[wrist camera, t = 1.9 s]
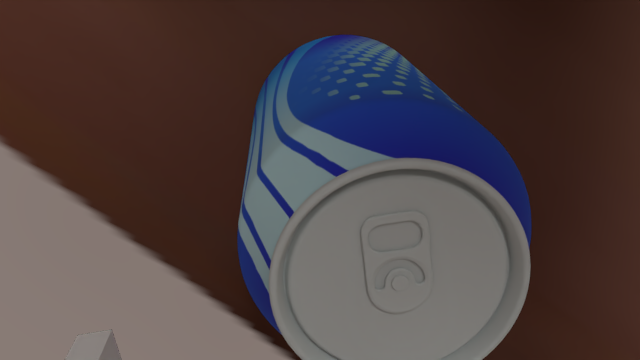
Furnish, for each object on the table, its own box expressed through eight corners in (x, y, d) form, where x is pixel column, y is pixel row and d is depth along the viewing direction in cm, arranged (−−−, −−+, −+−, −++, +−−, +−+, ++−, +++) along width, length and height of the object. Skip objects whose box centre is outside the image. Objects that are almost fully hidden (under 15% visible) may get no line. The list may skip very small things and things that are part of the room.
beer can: (457, 89, 30) (637, 231, 15) (364, 222, 32) (438, 462, 17) (312, -5, 28) (352, 51, 13) (223, 145, 30) (170, 340, 15)
